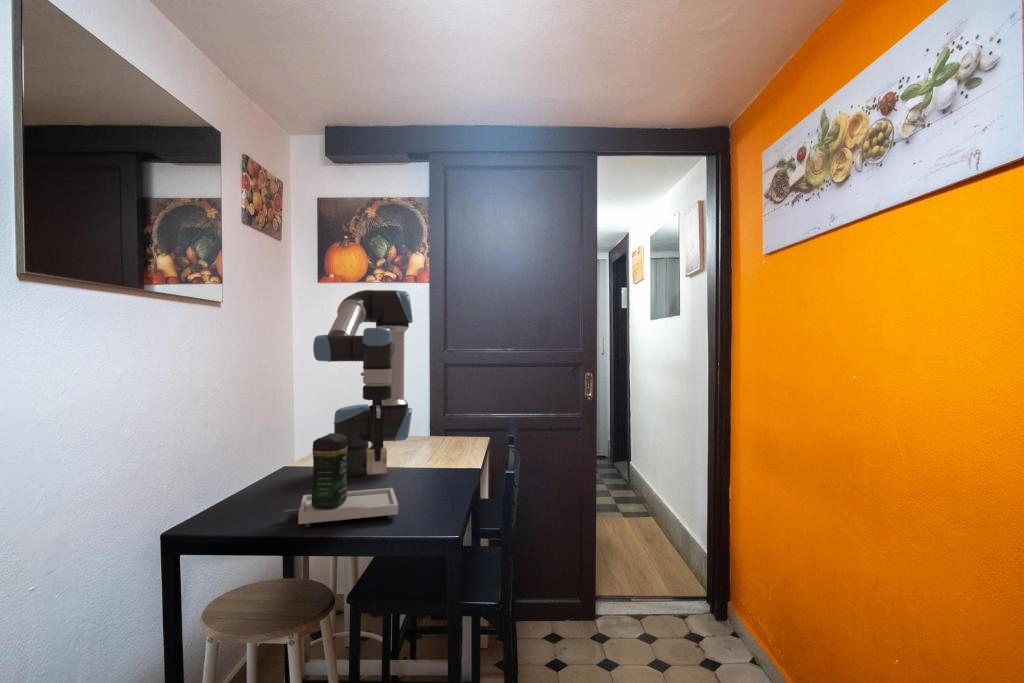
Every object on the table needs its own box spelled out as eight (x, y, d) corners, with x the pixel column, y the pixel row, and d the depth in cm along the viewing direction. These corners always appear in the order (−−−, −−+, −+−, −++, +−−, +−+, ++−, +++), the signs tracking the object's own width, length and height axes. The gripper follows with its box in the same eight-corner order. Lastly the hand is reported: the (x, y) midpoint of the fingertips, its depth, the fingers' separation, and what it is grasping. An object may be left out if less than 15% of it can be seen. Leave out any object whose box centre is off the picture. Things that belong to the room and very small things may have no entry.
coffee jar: (337, 510, 130) (337, 438, 130) (307, 509, 130) (307, 437, 130) (351, 498, 139) (351, 431, 139) (323, 498, 140) (323, 431, 140)
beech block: (366, 470, 139) (366, 448, 139) (385, 468, 140) (385, 447, 140) (367, 474, 134) (367, 451, 134) (386, 473, 136) (386, 450, 136)
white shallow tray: (287, 511, 138) (287, 496, 138) (392, 501, 146) (392, 487, 146) (280, 532, 123) (280, 516, 123) (398, 520, 131) (398, 504, 131)
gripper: (361, 382, 145) (361, 463, 145) (363, 387, 127) (363, 480, 127) (388, 381, 147) (388, 461, 147) (394, 387, 130) (393, 477, 130)
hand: (376, 470), depth 137 cm, fingers closed on beech block, 5 cm apart
